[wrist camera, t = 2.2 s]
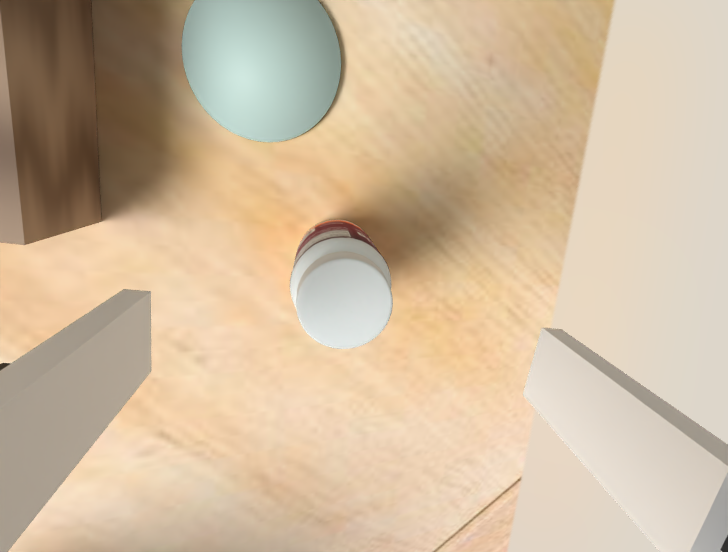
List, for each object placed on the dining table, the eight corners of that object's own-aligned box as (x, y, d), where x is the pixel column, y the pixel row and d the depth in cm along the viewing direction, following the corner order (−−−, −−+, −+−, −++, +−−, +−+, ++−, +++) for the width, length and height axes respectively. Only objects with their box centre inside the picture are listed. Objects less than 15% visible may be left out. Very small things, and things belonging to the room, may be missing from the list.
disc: (184, -47, 19) (182, -50, 18) (349, -11, 20) (350, -13, 20) (182, 130, 21) (180, 129, 20) (331, 152, 22) (331, 152, 22)
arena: (37, -290, 16) (-122, -545, 10) (448, -171, 18) (507, -318, 13) (71, 218, 21) (-17, 240, 16) (380, 253, 24) (400, 283, 18)
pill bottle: (384, 276, 25) (416, 334, 17) (314, 303, 25) (312, 373, 17) (359, 205, 23) (381, 232, 15) (284, 234, 23) (267, 275, 15)
